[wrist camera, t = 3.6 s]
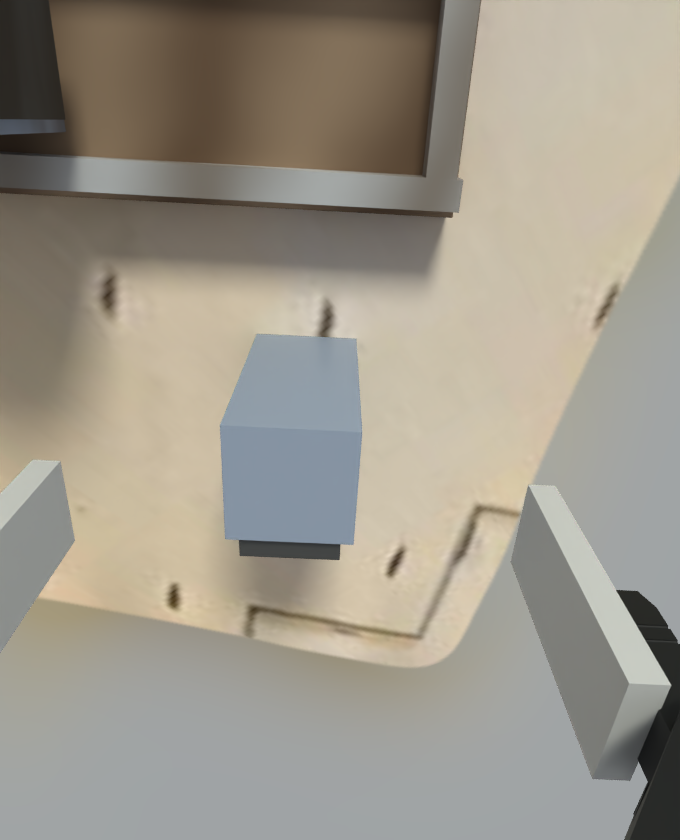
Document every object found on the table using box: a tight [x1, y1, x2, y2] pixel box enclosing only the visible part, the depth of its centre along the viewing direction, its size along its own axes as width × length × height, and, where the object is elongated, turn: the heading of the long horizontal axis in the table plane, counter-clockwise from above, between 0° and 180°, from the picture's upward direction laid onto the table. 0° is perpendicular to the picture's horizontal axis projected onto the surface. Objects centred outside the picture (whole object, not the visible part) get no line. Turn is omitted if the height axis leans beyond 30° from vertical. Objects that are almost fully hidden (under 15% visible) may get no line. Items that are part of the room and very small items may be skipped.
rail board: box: [0, 0, 481, 218], centre depth 15 cm, size 18×8×9 cm, turn 87°
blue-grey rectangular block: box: [220, 334, 362, 560], centre depth 21 cm, size 4×5×8 cm
